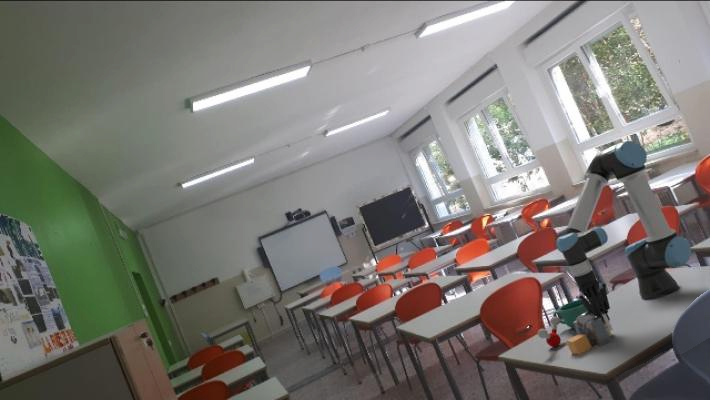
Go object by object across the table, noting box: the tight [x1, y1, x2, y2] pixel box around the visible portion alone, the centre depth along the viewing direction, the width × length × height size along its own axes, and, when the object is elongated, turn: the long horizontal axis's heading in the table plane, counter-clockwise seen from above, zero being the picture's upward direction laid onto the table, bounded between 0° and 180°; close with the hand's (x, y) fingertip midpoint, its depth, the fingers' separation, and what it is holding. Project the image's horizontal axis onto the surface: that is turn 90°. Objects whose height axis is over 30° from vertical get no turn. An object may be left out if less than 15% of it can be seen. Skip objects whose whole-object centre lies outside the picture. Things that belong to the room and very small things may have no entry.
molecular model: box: [537, 316, 561, 348], centre depth 231 cm, size 18×6×10 cm, turn 139°
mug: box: [552, 298, 590, 329], centre depth 245 cm, size 17×13×10 cm
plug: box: [566, 328, 612, 355], centre depth 215 cm, size 16×4×5 cm, turn 106°
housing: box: [572, 311, 612, 347], centre depth 216 cm, size 5×11×12 cm, turn 16°
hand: (609, 330), depth 217 cm, fingers closed
